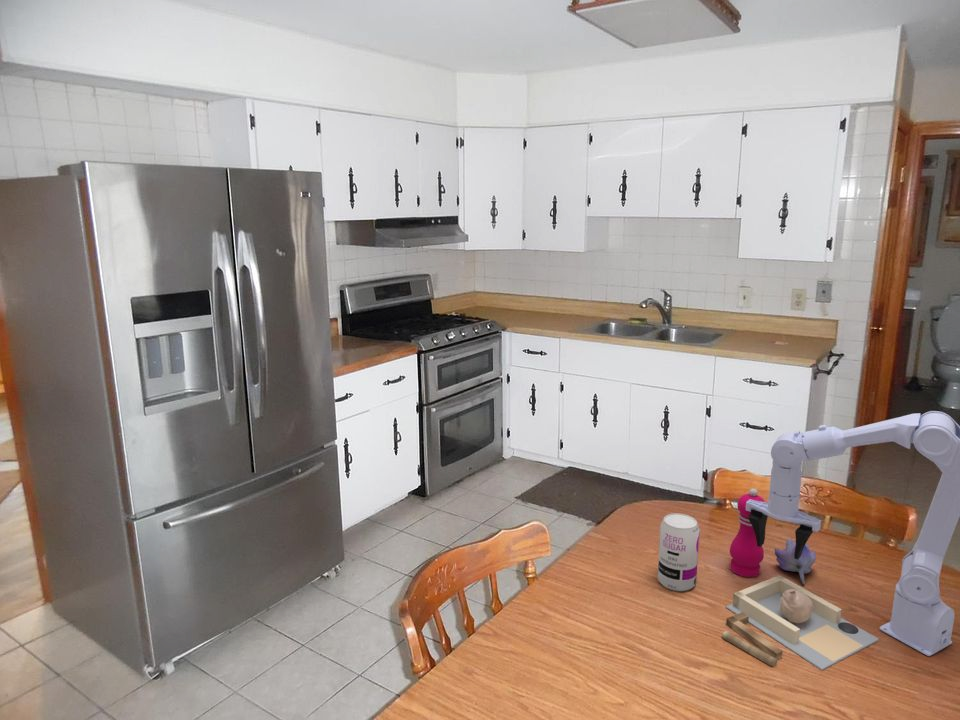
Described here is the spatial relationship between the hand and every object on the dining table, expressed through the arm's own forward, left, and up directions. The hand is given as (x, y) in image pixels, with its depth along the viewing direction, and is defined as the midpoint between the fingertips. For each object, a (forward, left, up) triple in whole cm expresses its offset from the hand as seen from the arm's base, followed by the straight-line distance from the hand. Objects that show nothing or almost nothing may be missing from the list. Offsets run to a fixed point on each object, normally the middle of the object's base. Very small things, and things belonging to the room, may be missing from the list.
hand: (778, 550), depth 142 cm
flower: (+3, -11, -11) cm, 16 cm away
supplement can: (+14, +15, -10) cm, 23 cm away
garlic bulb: (-8, +4, -10) cm, 14 cm away
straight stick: (-10, +20, -11) cm, 25 cm away
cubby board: (-9, +4, -10) cm, 14 cm away
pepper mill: (+10, -2, -10) cm, 15 cm away
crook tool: (-8, +15, -11) cm, 20 cm away
